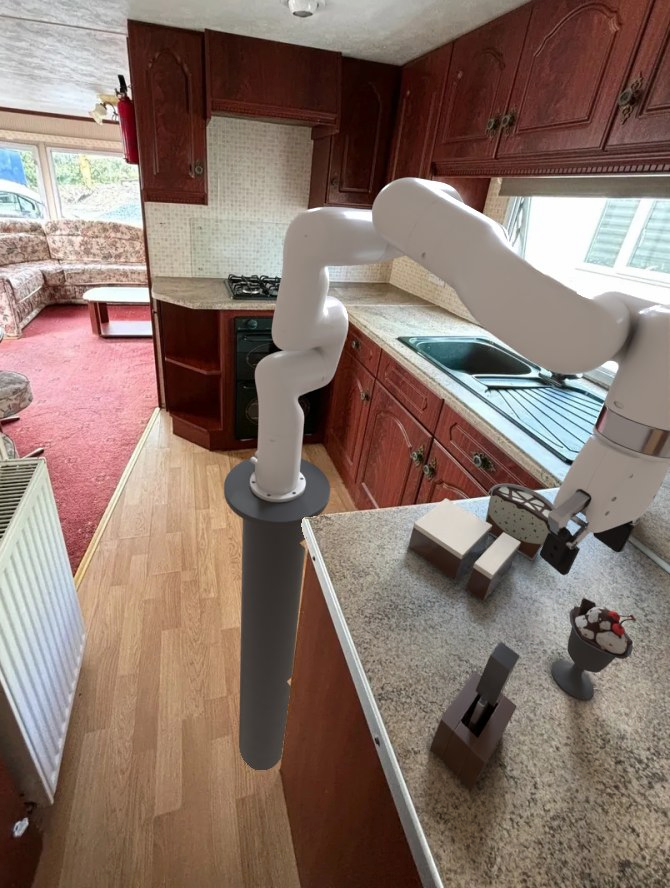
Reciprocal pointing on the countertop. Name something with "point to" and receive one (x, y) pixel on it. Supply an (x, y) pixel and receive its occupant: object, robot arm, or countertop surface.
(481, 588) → the cake slice
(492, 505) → the ice cream dessert
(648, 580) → the countertop surface
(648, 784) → the countertop surface
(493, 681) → the knife
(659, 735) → the countertop surface
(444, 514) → the cake
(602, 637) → the sundae
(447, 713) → the knife block
